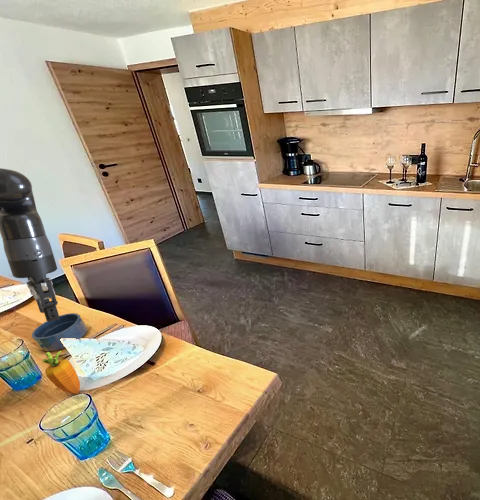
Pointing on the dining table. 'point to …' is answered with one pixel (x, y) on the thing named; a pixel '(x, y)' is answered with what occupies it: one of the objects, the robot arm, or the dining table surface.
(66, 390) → the carrot
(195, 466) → the dining table surface
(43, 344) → the bowl
